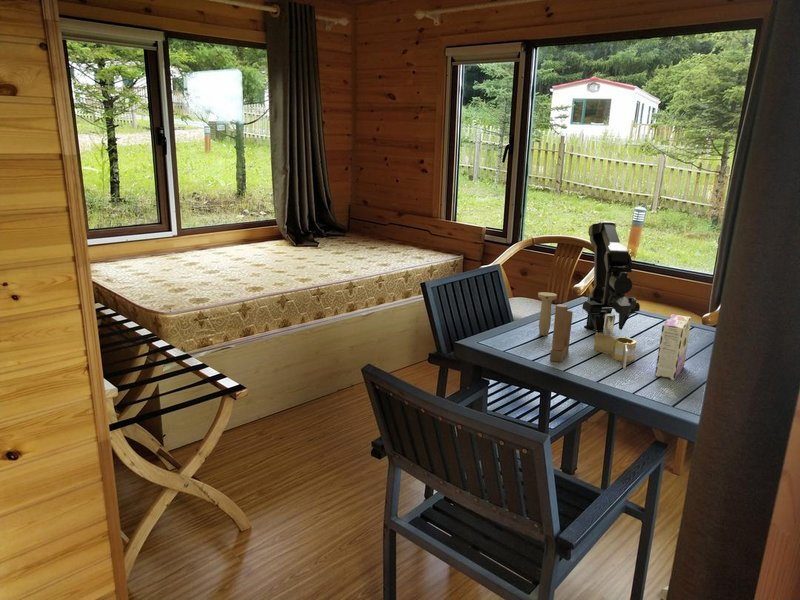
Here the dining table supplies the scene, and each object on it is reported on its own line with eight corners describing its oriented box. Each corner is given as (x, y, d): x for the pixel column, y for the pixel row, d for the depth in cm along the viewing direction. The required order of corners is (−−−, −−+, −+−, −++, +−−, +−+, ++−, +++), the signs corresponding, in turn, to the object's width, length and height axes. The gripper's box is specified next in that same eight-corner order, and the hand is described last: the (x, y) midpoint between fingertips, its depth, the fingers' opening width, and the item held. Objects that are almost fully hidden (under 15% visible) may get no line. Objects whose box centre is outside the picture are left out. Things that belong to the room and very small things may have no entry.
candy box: (664, 362, 191) (671, 313, 187) (684, 367, 188) (692, 316, 183) (654, 376, 180) (661, 323, 176) (675, 380, 177) (683, 327, 172)
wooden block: (568, 352, 198) (574, 299, 193) (561, 363, 189) (566, 307, 184) (557, 350, 199) (562, 298, 195) (549, 360, 190) (554, 306, 185)
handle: (534, 331, 218) (538, 291, 214) (553, 333, 217) (557, 293, 213) (534, 335, 214) (537, 294, 210) (552, 337, 212) (556, 296, 208)
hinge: (579, 355, 195) (581, 338, 194) (598, 347, 203) (600, 330, 202) (624, 369, 184) (627, 351, 183) (643, 360, 192) (645, 342, 191)
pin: (600, 342, 208) (603, 314, 206) (604, 340, 211) (608, 313, 208) (608, 344, 206) (612, 316, 204) (613, 342, 208) (616, 315, 206)
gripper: (601, 293, 193) (596, 339, 198) (652, 291, 198) (646, 336, 202) (584, 284, 204) (579, 328, 208) (633, 283, 208) (627, 326, 212)
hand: (608, 330), depth 207 cm, fingers open, 9 cm apart
